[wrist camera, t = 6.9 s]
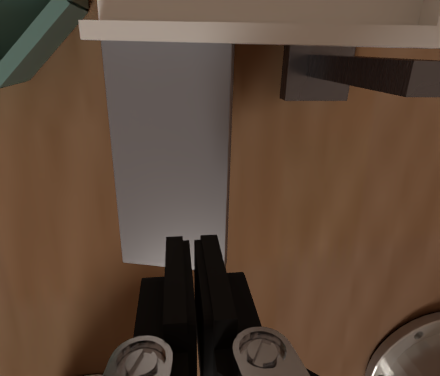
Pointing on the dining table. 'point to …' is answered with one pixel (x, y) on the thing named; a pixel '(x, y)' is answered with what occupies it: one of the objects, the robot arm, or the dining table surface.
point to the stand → (352, 74)
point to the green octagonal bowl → (33, 34)
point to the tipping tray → (208, 96)
